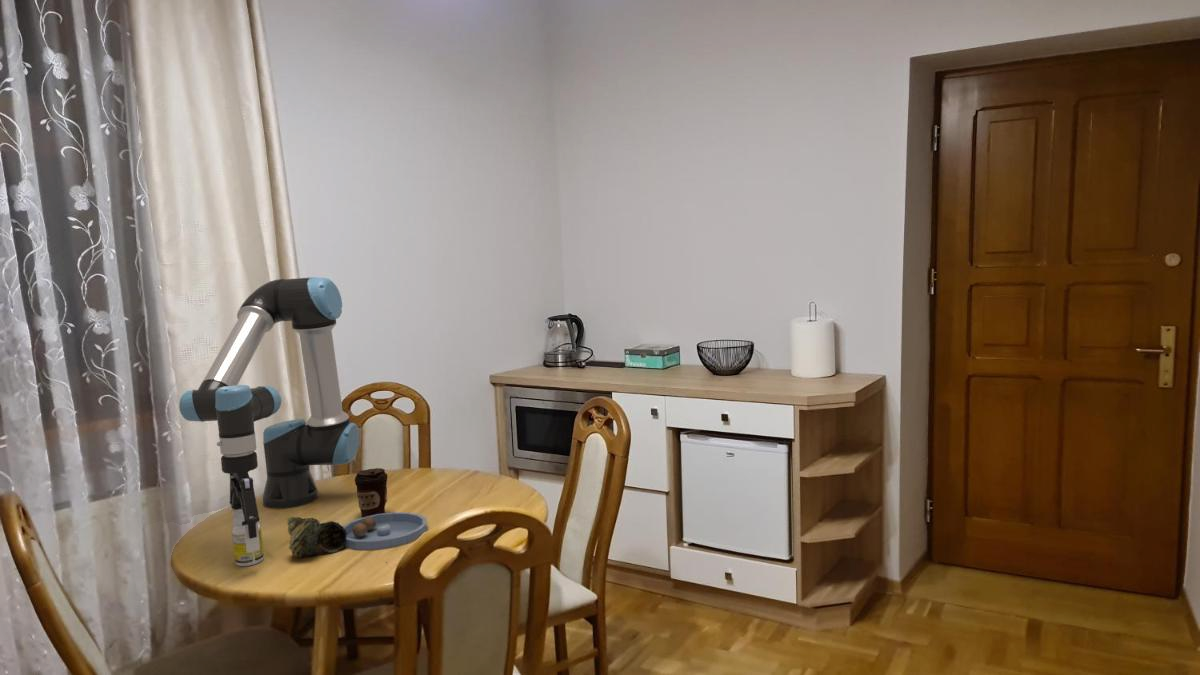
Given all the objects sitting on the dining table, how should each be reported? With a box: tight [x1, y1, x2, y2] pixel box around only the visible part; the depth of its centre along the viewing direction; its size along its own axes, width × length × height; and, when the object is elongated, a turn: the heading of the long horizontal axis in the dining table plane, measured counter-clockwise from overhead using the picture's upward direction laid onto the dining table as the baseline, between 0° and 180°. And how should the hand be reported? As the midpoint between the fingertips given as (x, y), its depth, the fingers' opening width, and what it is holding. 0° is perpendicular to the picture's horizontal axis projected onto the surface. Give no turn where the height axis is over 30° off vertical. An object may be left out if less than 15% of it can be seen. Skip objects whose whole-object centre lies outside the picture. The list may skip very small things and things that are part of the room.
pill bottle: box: [231, 514, 265, 567], centre depth 184 cm, size 6×6×11 cm
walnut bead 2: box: [362, 517, 376, 531], centre depth 200 cm, size 4×4×4 cm
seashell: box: [287, 516, 347, 559], centre depth 185 cm, size 11×11×10 cm
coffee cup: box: [354, 467, 388, 518], centre depth 211 cm, size 9×8×13 cm
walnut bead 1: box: [353, 523, 367, 538], centre depth 195 cm, size 4×4×4 cm
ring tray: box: [342, 511, 428, 551], centre depth 197 cm, size 21×21×3 cm
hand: (247, 543), depth 184 cm, fingers open, 13 cm apart
